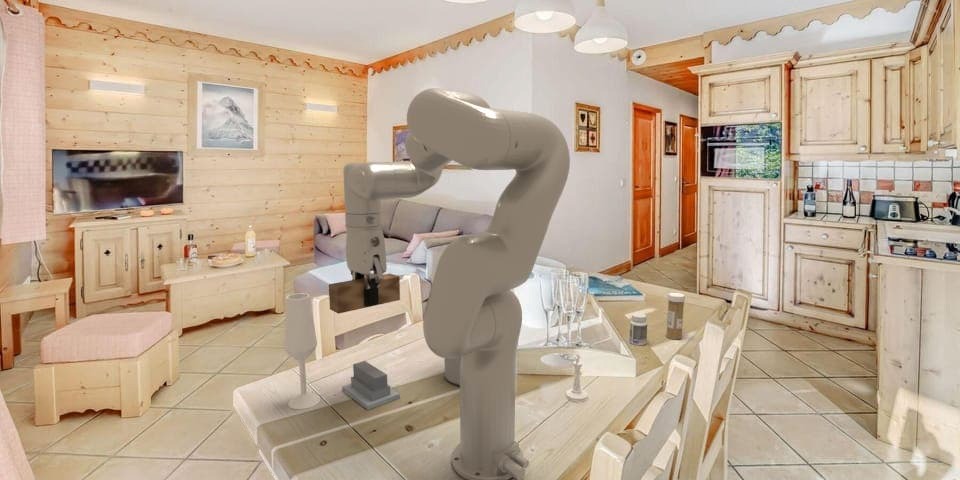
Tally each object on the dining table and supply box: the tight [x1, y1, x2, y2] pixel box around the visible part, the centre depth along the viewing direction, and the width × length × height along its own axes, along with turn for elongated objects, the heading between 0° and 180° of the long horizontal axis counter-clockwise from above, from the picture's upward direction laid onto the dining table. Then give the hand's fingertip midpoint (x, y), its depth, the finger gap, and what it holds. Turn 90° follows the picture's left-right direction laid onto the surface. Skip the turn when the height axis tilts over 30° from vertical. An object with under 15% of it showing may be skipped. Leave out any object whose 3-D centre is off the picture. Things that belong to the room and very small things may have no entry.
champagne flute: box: [283, 292, 321, 410], centre depth 104 cm, size 7×7×24 cm
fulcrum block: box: [341, 360, 401, 411], centre depth 108 cm, size 12×8×6 cm, turn 42°
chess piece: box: [565, 353, 589, 403], centre depth 107 cm, size 5×5×10 cm
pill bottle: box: [629, 312, 648, 346], centre depth 139 cm, size 5×5×8 cm
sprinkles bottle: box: [665, 292, 686, 341], centre depth 143 cm, size 5×5×13 cm
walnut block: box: [328, 273, 401, 315], centre depth 105 cm, size 15×4×6 cm, turn 132°
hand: (366, 302), depth 106 cm, fingers closed on walnut block, 4 cm apart
